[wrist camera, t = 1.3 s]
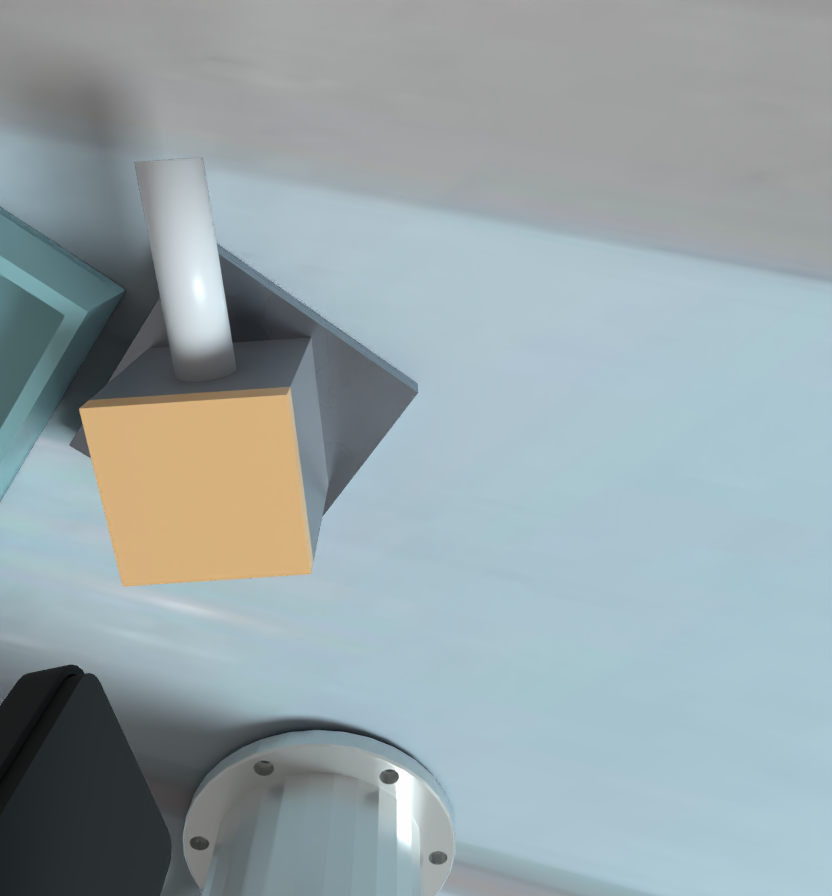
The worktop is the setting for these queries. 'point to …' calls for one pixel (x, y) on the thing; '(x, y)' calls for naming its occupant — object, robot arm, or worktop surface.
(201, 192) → the grey block with cylinder
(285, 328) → the grey piece
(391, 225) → the worktop surface
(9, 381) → the bin
